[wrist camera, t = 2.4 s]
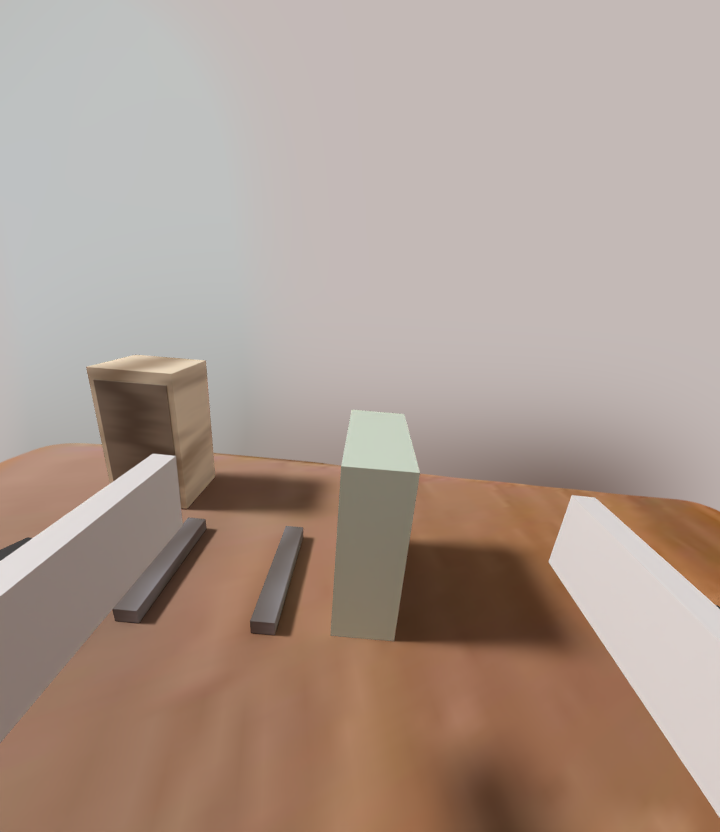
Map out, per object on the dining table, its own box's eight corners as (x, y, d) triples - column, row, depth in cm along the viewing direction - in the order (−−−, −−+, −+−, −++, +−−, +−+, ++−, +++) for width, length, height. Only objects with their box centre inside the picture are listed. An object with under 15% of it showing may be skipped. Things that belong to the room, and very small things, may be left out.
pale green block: (387, 542, 30) (404, 414, 26) (394, 641, 21) (419, 472, 17) (342, 538, 30) (351, 409, 26) (330, 635, 21) (341, 466, 17)
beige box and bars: (318, 485, 37) (322, 370, 33) (274, 634, 21) (271, 444, 16) (152, 471, 37) (135, 354, 33) (-20, 608, 21) (-101, 413, 17)
